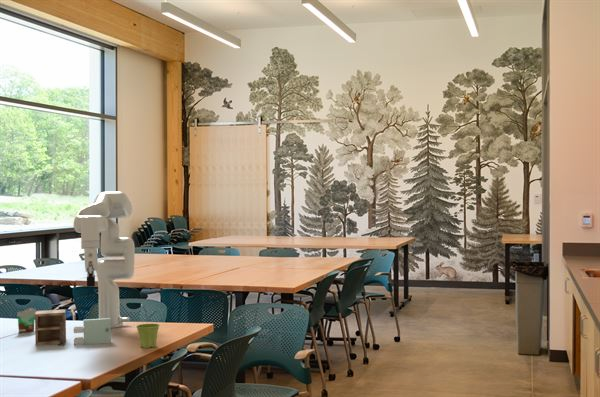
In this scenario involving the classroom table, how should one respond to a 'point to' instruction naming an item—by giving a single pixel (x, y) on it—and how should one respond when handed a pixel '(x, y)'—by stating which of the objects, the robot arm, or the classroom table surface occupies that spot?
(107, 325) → the door
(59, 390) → the classroom table surface
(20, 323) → the food container
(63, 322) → the cabinet
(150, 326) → the plant pot
